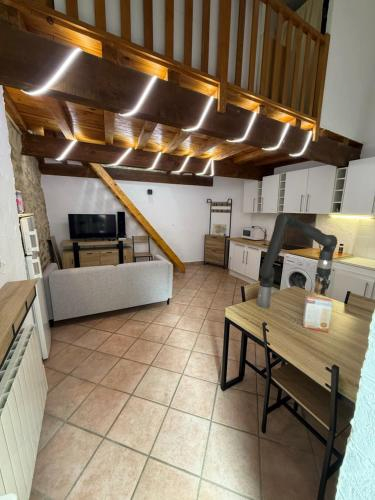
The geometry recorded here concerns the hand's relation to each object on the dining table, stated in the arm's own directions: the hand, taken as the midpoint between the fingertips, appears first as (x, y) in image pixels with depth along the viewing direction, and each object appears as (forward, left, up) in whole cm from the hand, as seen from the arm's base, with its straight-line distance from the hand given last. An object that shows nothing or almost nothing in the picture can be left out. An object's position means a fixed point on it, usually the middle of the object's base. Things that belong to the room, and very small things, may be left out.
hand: (320, 292), depth 129 cm
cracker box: (0, 0, -25) cm, 25 cm away
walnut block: (0, 0, -1) cm, 1 cm away
